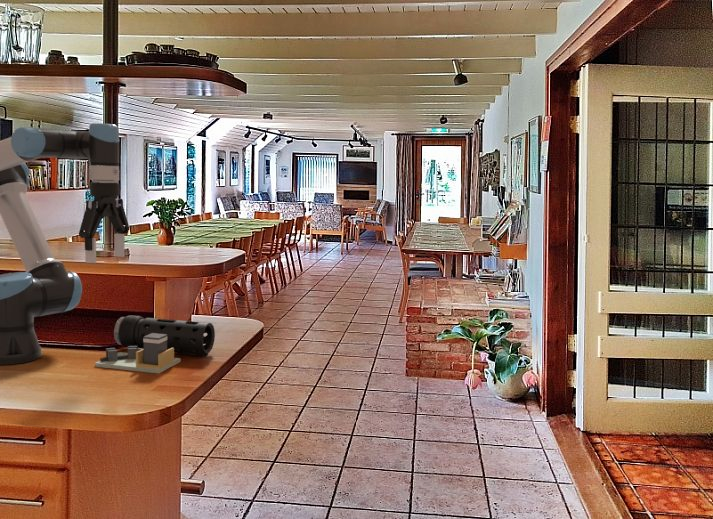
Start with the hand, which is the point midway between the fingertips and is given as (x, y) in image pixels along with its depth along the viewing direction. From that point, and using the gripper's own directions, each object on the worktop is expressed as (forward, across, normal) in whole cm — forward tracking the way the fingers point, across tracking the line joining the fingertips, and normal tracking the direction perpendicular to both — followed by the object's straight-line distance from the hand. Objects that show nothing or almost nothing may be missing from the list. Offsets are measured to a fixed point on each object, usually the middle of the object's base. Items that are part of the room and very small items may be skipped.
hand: (105, 259), depth 192 cm
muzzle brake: (+29, +14, -10) cm, 34 cm away
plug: (+28, -1, -16) cm, 32 cm away
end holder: (+29, -1, -16) cm, 33 cm away
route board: (+29, 0, -10) cm, 30 cm away
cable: (+28, 0, -6) cm, 28 cm away
